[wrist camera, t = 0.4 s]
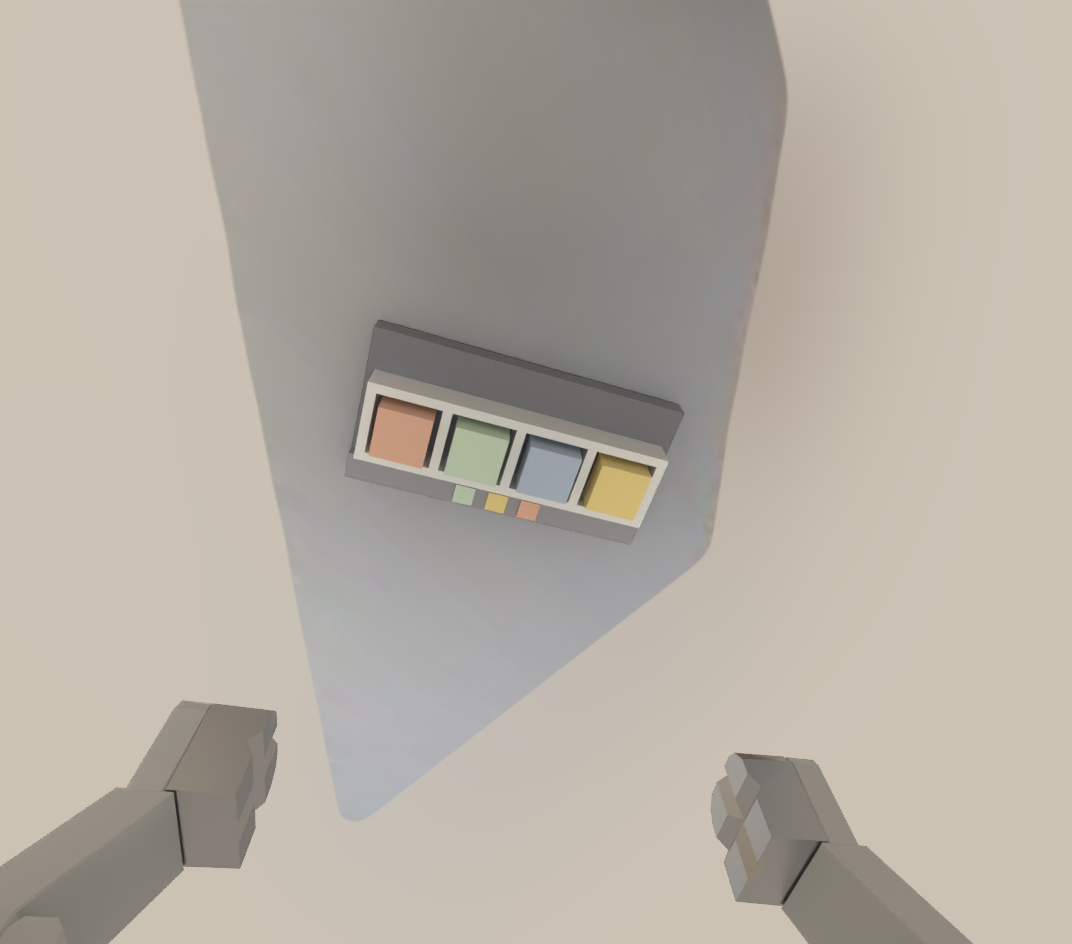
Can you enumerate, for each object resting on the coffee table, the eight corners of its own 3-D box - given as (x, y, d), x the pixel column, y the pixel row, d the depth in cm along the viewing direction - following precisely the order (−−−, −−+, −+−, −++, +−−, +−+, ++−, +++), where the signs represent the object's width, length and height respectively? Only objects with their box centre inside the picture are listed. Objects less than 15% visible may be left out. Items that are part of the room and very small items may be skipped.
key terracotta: (384, 395, 51) (378, 406, 49) (437, 409, 52) (433, 421, 50) (374, 442, 53) (368, 455, 51) (425, 455, 54) (422, 468, 52)
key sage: (458, 414, 52) (456, 427, 50) (509, 428, 53) (509, 441, 51) (446, 460, 54) (443, 474, 52) (495, 472, 55) (495, 486, 53)
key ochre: (599, 452, 54) (602, 465, 52) (646, 464, 55) (652, 478, 53) (582, 494, 56) (585, 509, 54) (628, 506, 57) (633, 520, 55)
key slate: (530, 433, 53) (531, 446, 51) (579, 446, 54) (582, 460, 52) (515, 477, 55) (515, 491, 53) (563, 489, 56) (565, 504, 54)
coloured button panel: (378, 319, 52) (366, 336, 48) (678, 404, 57) (693, 427, 52) (351, 464, 58) (338, 491, 54) (623, 530, 63) (632, 560, 58)
